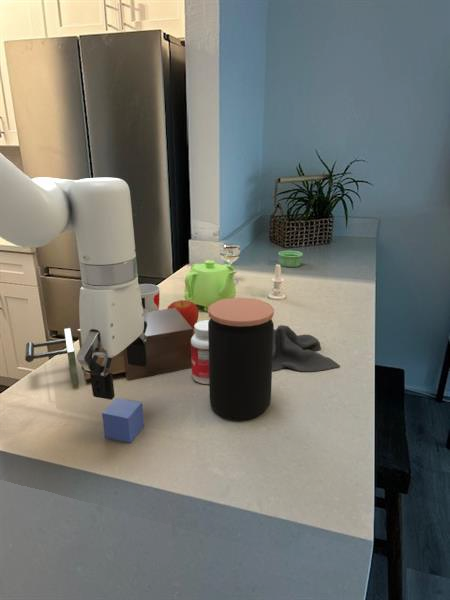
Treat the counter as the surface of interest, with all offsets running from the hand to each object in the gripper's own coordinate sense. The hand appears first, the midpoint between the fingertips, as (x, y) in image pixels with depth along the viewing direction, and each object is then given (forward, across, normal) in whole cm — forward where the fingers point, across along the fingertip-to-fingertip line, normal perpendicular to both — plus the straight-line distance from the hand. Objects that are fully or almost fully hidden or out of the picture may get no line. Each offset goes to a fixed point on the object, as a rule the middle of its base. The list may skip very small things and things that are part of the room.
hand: (121, 379), depth 65 cm
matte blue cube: (+9, 0, 0) cm, 9 cm away
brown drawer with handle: (+8, -14, -18) cm, 24 cm away
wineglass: (+10, -80, -8) cm, 81 cm away
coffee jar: (+10, -13, +15) cm, 22 cm away
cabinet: (+9, -23, -7) cm, 26 cm away
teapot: (+10, -58, -6) cm, 59 cm away
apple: (+10, -39, -7) cm, 41 cm away
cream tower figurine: (+10, -70, +10) cm, 71 cm away
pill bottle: (+10, -20, +6) cm, 23 cm away
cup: (+10, -38, -17) cm, 43 cm away
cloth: (+10, -34, +19) cm, 41 cm away
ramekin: (+10, -107, +8) cm, 108 cm away
